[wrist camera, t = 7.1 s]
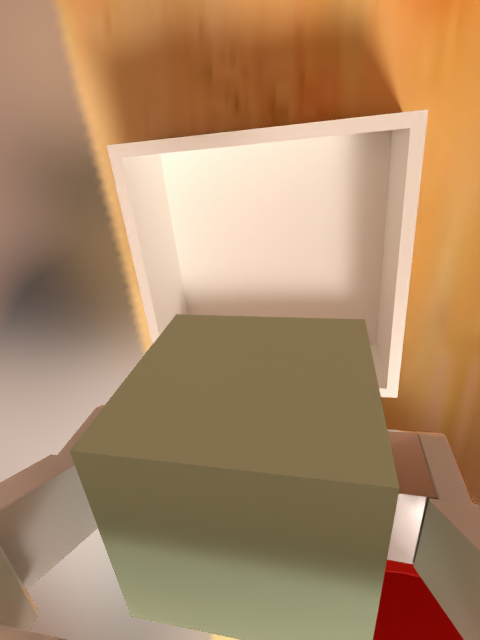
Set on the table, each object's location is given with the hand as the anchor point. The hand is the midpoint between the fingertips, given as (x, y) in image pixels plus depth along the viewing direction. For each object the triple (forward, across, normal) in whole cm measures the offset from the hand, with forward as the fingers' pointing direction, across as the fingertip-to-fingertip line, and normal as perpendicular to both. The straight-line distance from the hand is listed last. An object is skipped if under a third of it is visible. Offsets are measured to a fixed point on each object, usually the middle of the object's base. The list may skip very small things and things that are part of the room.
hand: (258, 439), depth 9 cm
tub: (+17, +2, +1) cm, 17 cm away
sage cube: (+2, 0, 0) cm, 2 cm away
